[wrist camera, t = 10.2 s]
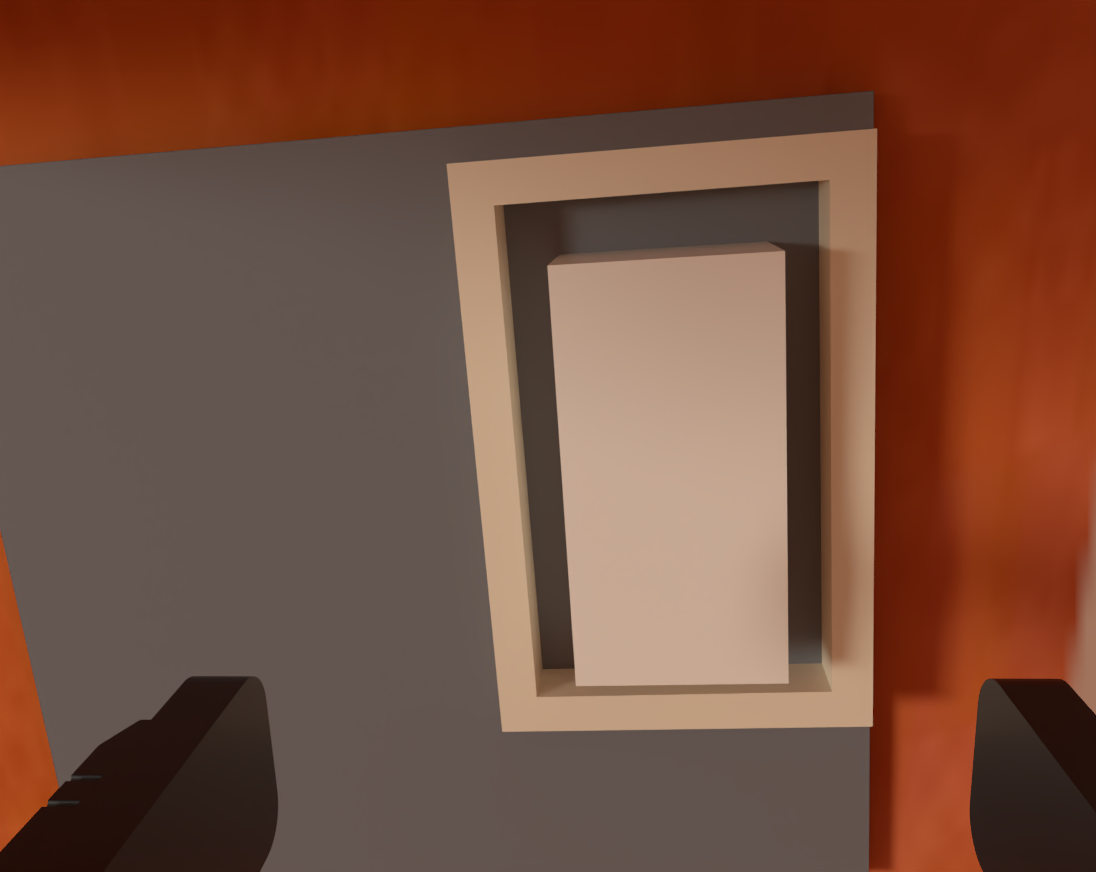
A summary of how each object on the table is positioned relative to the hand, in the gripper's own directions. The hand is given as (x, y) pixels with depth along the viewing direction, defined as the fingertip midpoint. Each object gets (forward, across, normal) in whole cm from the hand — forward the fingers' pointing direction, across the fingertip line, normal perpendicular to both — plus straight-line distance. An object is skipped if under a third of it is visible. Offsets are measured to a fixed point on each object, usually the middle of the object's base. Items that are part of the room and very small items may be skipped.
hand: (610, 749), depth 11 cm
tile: (+10, -1, -1) cm, 10 cm away
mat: (+10, +4, +1) cm, 11 cm away
